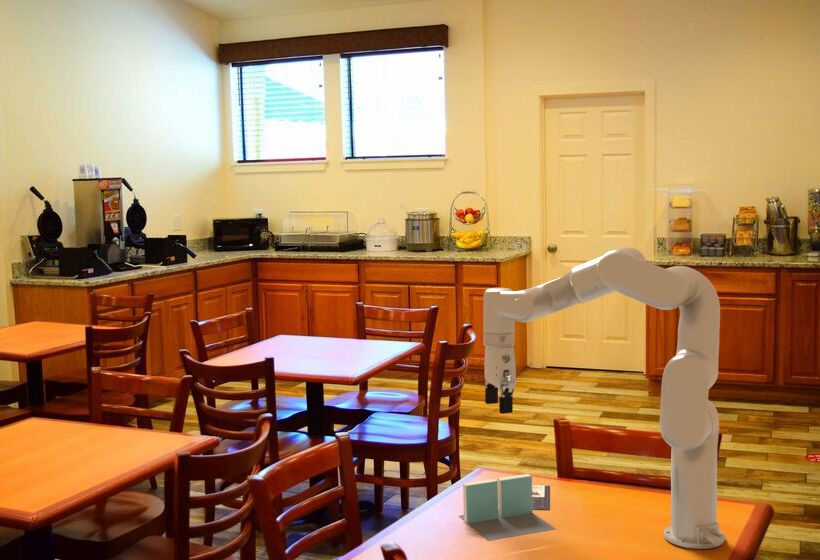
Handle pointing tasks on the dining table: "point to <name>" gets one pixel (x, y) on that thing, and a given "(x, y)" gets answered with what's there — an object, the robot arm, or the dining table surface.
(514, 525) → the mat
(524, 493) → the tile
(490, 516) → the tile
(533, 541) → the dining table surface
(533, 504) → the chocolate bar
